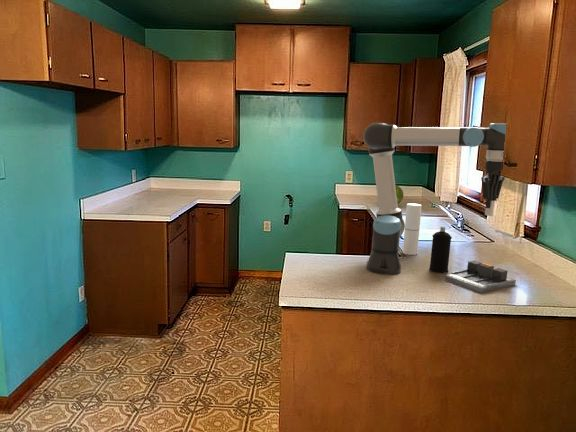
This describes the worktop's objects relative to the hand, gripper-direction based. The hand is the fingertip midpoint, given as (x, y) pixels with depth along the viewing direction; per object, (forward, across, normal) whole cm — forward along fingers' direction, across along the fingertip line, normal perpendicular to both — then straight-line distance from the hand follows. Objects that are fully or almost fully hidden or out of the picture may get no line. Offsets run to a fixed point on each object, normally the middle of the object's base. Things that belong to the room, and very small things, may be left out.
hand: (488, 215), depth 202 cm
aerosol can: (+27, -14, +12) cm, 32 cm away
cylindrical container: (+27, -4, +39) cm, 47 cm away
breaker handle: (+24, -7, -7) cm, 26 cm away
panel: (+26, -11, -7) cm, 29 cm away
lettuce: (+27, +87, +148) cm, 174 cm away
